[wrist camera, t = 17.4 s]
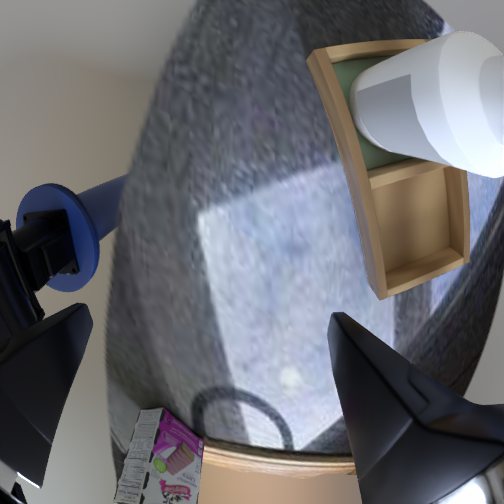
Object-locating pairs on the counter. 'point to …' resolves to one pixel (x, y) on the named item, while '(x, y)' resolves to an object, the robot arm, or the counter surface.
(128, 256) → the counter surface
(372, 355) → the robot arm
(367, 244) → the holder
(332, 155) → the counter surface
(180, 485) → the candy bar box
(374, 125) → the spray bottle
